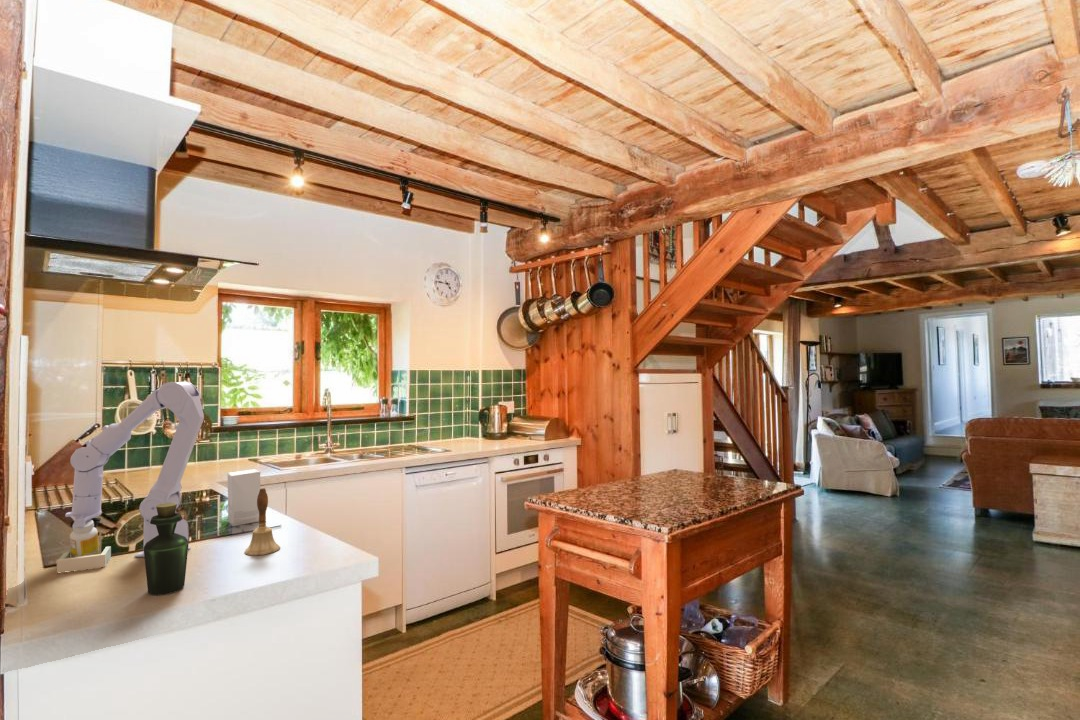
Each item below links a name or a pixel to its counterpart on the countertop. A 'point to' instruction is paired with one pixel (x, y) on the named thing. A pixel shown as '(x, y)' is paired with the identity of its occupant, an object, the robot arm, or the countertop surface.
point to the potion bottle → (166, 553)
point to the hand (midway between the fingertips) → (83, 549)
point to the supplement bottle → (84, 540)
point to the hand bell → (262, 530)
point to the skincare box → (243, 497)
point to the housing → (83, 561)
